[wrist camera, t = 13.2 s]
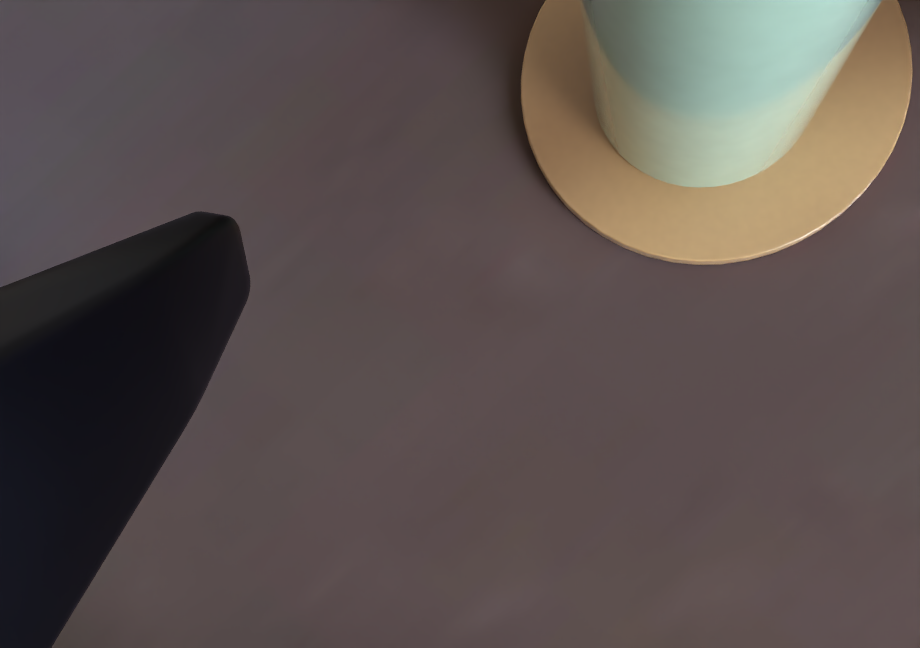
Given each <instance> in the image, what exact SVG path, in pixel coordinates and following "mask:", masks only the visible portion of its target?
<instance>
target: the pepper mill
mask: <svg viewBox="0 0 920 648" xmlns="http://www.w3.org/2000/svg"><path fill="white" fill-rule="evenodd" d="M881 1H882V0H580V6H581V13H582V20H583V27H584V34H585V41H586V48H587V55H588V62H589V69H590V76H591V83H592V90H593V97H594V103H595V109H596V113H597V116H598V119H599V122H600V124H601V127H602V129H603V131H604V133H605V135H606V136H607V138H608V140H609V141H610V143H611V144H612V146H613V147H614V148H615V149H616V150H617V152H618V153H619V154H620V155H621V156H622V157H623V158H624V159H625V160H627V161H628V162H629V163H630V164H631V165H632V166H634V167H635V168H637V169H638V170H640V171H641V172H643V173H645V174H647V175H649V176H651V177H653V178H655V179H658V180H661V181H663V182H666V183H669V184H674V185H679V186H684V187H697V188H701V187H716V186H722V185H728V184H732V183H735V182H738V181H742V180H744V179H747V178H749V177H751V176H754V175H756V174H758V173H760V172H761V171H763V170H765V169H766V168H768V167H770V166H771V165H772V164H774V163H775V162H776V161H778V160H779V159H780V158H782V157H783V156H784V155H785V154H786V153H787V152H788V151H789V150H790V149H791V148H792V147H793V146H794V144H795V143H796V142H797V140H798V139H799V138H800V137H801V135H802V134H803V132H804V131H805V129H806V127H807V126H808V124H809V122H810V120H811V119H812V117H813V115H814V114H815V112H816V110H817V109H818V107H819V105H820V104H821V102H822V100H823V99H824V97H825V95H826V94H827V92H828V90H829V89H830V87H831V85H832V83H833V82H834V80H835V78H836V77H837V75H838V73H839V72H840V70H841V68H842V67H843V65H844V63H845V62H846V60H847V58H848V57H849V55H850V53H851V52H852V50H853V48H854V46H855V45H856V43H857V41H858V40H859V38H860V36H861V35H862V33H863V31H864V30H865V28H866V26H867V25H868V23H869V21H870V20H871V18H872V16H873V15H874V13H875V11H876V9H877V8H878V6H879V4H880V3H881Z"/></svg>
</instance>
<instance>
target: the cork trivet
mask: <svg viewBox="0 0 920 648" xmlns="http://www.w3.org/2000/svg"><path fill="white" fill-rule="evenodd" d="M912 75H913V73H912V50H911V45H910V40H909V35H908V29H907V25H906V22H905V19H904V16H903V14H902V11H901V8H900V5H899V2H898V0H882V1H881V3H880V4H879V6H878V8H877V9H876V11H875V13H874V15H873V16H872V18H871V20H870V21H869V23H868V25H867V26H866V28H865V30H864V31H863V33H862V35H861V36H860V38H859V40H858V41H857V43H856V45H855V46H854V48H853V50H852V52H851V53H850V55H849V57H848V58H847V60H846V62H845V63H844V65H843V67H842V68H841V70H840V72H839V73H838V75H837V77H836V78H835V80H834V82H833V83H832V85H831V87H830V89H829V90H828V92H827V94H826V95H825V97H824V99H823V100H822V102H821V104H820V105H819V107H818V109H817V110H816V112H815V114H814V115H813V117H812V119H811V120H810V122H809V124H808V126H807V127H806V129H805V131H804V132H803V134H802V135H801V137H800V138H799V139H798V140H797V142H796V143H795V144H794V146H793V147H792V148H791V149H790V150H789V151H788V152H787V153H786V154H785V155H784V156H783V157H782V158H780V159H779V160H778V161H776V162H775V163H774V164H772V165H771V166H770V167H768V168H766V169H765V170H763V171H761V172H760V173H758V174H756V175H754V176H751V177H749V178H747V179H744V180H742V181H738V182H735V183H732V184H728V185H722V186H716V187H701V188H697V187H684V186H679V185H674V184H669V183H666V182H663V181H661V180H658V179H655V178H653V177H651V176H649V175H647V174H645V173H643V172H641V171H640V170H638V169H637V168H635V167H634V166H632V165H631V164H630V163H629V162H628V161H627V160H625V159H624V158H623V157H622V156H621V155H620V154H619V153H618V152H617V150H616V149H615V148H614V147H613V146H612V144H611V143H610V141H609V140H608V138H607V136H606V135H605V133H604V131H603V129H602V127H601V124H600V122H599V119H598V116H597V113H596V109H595V103H594V97H593V90H592V83H591V76H590V69H589V62H588V55H587V48H586V41H585V34H584V27H583V20H582V13H581V6H580V0H545V2H544V4H543V6H542V7H541V9H540V11H539V13H538V15H537V18H536V20H535V23H534V25H533V27H532V30H531V32H530V35H529V39H528V43H527V46H526V50H525V54H524V59H523V66H522V74H521V106H522V113H523V121H524V126H525V129H526V133H527V136H528V140H529V144H530V147H531V149H532V151H533V154H534V156H535V158H536V161H537V163H538V165H539V168H540V170H541V172H542V173H543V175H544V177H545V178H546V180H547V182H548V183H549V185H550V187H551V188H552V190H553V191H554V192H555V193H556V195H557V196H558V197H559V198H560V200H561V201H562V202H563V203H564V205H565V206H566V207H567V208H568V209H569V210H570V211H571V212H572V213H573V214H574V215H576V216H577V217H578V218H579V219H580V220H581V221H582V222H583V223H584V224H586V225H587V226H588V227H590V228H591V229H593V230H594V231H595V232H597V233H598V234H600V235H601V236H602V237H604V238H606V239H608V240H610V241H612V242H614V243H616V244H617V245H619V246H621V247H623V248H625V249H628V250H631V251H634V252H636V253H639V254H642V255H644V256H647V257H651V258H656V259H660V260H664V261H669V262H675V263H685V264H694V265H706V264H726V263H733V262H740V261H747V260H751V259H754V258H758V257H762V256H765V255H769V254H772V253H775V252H777V251H780V250H782V249H785V248H787V247H789V246H792V245H794V244H797V243H799V242H800V241H802V240H804V239H806V238H807V237H809V236H811V235H813V234H814V233H816V232H818V231H820V230H821V229H822V228H824V227H825V226H826V225H828V224H829V223H830V222H832V221H833V220H834V219H836V218H837V217H838V216H840V215H841V214H842V213H843V212H844V211H845V210H846V209H847V208H848V207H849V206H850V205H851V204H852V203H853V202H854V201H855V200H856V199H857V198H858V197H859V196H861V195H862V194H863V193H864V192H865V190H866V189H867V188H868V186H869V185H870V184H871V183H872V181H873V180H874V179H875V178H876V176H877V175H878V174H879V172H880V171H881V169H882V168H883V166H884V164H885V163H886V161H887V159H888V158H889V156H890V154H891V152H892V151H893V149H894V147H895V144H896V142H897V140H898V137H899V135H900V132H901V130H902V127H903V125H904V121H905V117H906V113H907V109H908V106H909V102H910V95H911V85H912Z"/></svg>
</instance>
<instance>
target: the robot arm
mask: <svg viewBox="0 0 920 648" xmlns="http://www.w3.org/2000/svg"><path fill="white" fill-rule="evenodd" d="M249 291H250V275H249V271H248V266H247V261H246V256H245V252H244V247H243V242H242V238H241V233H240V229H239V226H238V224H237V223H236V221H235V220H234V219H233V218H231V217H229V216H226V215H220V214H214V213H208V212H194V213H191V214H188V215H186V216H183V217H181V218H178V219H175V220H173V221H170V222H168V223H165V224H163V225H160V226H157V227H155V228H152V229H150V230H147V231H145V232H142V233H139V234H137V235H134V236H132V237H129V238H127V239H124V240H121V241H119V242H116V243H114V244H111V245H109V246H106V247H103V248H101V249H98V250H96V251H93V252H91V253H88V254H85V255H83V256H80V257H78V258H75V259H73V260H70V261H67V262H65V263H62V264H60V265H57V266H55V267H52V268H50V269H47V270H44V271H42V272H39V273H37V274H34V275H32V276H29V277H26V278H24V279H21V280H19V281H16V282H14V283H11V284H8V285H6V286H3V287H1V288H0V648H51V647H52V645H53V644H54V642H55V640H56V639H57V637H58V636H59V634H60V632H61V631H62V629H63V627H64V626H65V624H66V622H67V621H68V619H69V618H70V616H71V614H72V613H73V611H74V609H75V608H76V606H77V604H78V603H79V601H80V599H81V598H82V596H83V595H84V593H85V591H86V590H87V588H88V586H89V585H90V583H91V581H92V580H93V578H94V577H95V575H96V573H97V572H98V570H99V568H100V567H101V565H102V563H103V562H104V560H105V559H106V557H107V555H108V554H109V552H110V550H111V549H112V547H113V545H114V544H115V542H116V540H117V539H118V537H119V536H120V534H121V532H122V531H123V529H124V527H125V526H126V524H127V522H128V521H129V519H130V518H131V516H132V514H133V513H134V511H135V509H136V508H137V506H138V504H139V503H140V501H141V500H142V498H143V496H144V495H145V493H146V491H147V490H148V488H149V486H150V485H151V483H152V481H153V480H154V478H155V477H156V475H157V473H158V472H159V470H160V468H161V467H162V465H163V463H164V462H165V460H166V459H167V457H168V455H169V454H170V452H171V450H172V449H173V447H174V445H175V444H176V442H177V441H178V439H179V437H180V436H181V434H182V432H183V431H184V429H185V427H186V426H187V424H188V422H189V420H190V419H191V417H192V415H193V413H194V412H195V410H196V408H197V406H198V404H199V402H200V400H201V398H202V396H203V394H204V392H205V390H206V388H207V386H208V383H209V381H210V379H211V377H212V375H213V373H214V371H215V368H216V366H217V364H218V362H219V360H220V358H221V355H222V353H223V351H224V349H225V347H226V345H227V343H228V340H229V338H230V336H231V334H232V332H233V330H234V328H235V325H236V323H237V321H238V319H239V317H240V315H241V312H242V310H243V308H244V306H245V304H246V301H247V299H248V295H249Z"/></svg>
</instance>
